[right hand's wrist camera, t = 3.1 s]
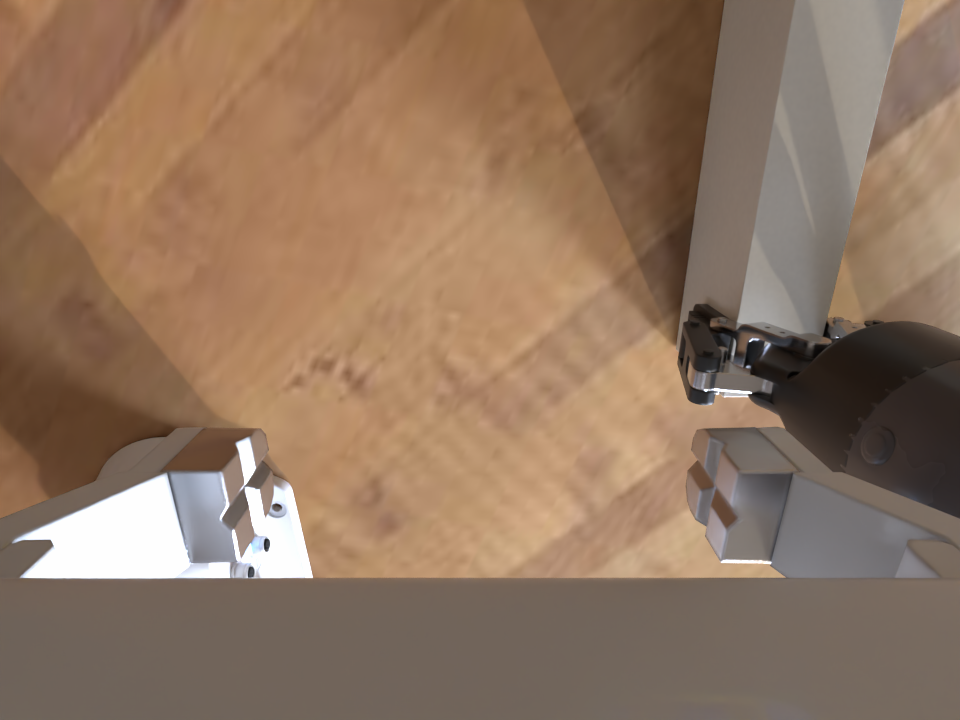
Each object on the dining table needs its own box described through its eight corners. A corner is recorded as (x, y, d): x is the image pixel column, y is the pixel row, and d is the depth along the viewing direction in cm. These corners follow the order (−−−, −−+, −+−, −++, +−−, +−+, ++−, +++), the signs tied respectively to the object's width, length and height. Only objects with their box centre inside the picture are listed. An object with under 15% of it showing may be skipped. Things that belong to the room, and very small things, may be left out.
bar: (738, -104, 30) (829, -195, 22) (829, -104, 30) (952, -195, 22) (675, 349, 39) (723, 397, 32) (743, 349, 39) (808, 397, 32)
